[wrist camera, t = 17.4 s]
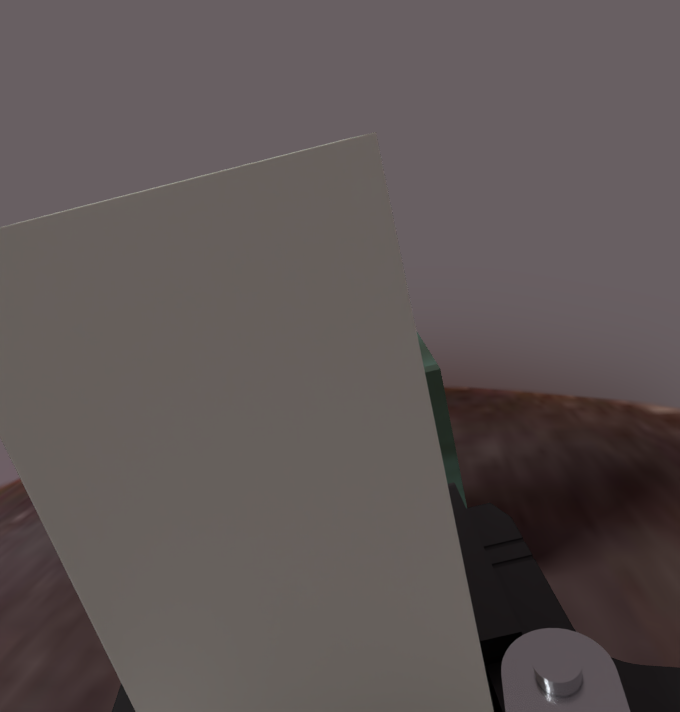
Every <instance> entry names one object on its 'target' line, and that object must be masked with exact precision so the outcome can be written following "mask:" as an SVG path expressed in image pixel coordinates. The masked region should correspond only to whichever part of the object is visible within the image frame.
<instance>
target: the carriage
mask: <svg viewBox="0 0 680 712" xmlns="http://www.w3.org/2000/svg"><path fill="white" fill-rule="evenodd" d="M0 438H1V440H2V442H3V444H4V446H5V448H6V450H7V452H8V454H9V456H10V459H11V461H12V463H13V464H14V466H15V469H16V470H17V473H18V475H19V477H20V479H21V481H22V483H23V485H24V487H25V489H26V491H27V493H28V495H29V497H30V499H31V501H32V503H33V505H34V507H35V509H36V511H37V513H38V515H39V517H40V519H41V521H42V523H43V525H44V527H45V529H46V531H47V533H48V535H49V537H50V540H51V542H52V544H53V546H54V548H55V550H56V552H57V554H58V556H59V558H60V560H61V562H62V564H63V566H64V568H65V570H66V572H67V574H68V576H69V578H70V580H71V582H72V584H73V586H74V588H75V590H76V592H77V594H78V596H79V598H80V600H81V602H82V604H83V606H84V608H85V610H86V612H87V614H88V616H89V618H90V620H91V623H92V625H93V627H94V629H95V631H96V633H97V635H98V637H99V639H100V641H101V643H102V645H103V647H104V649H105V651H106V653H107V655H108V657H109V659H110V661H111V663H112V665H113V667H114V669H115V671H116V673H117V675H118V677H119V679H120V681H121V683H122V685H123V687H124V689H125V691H126V693H127V695H128V697H129V699H130V701H131V703H132V706H133V708H134V710H135V712H494V710H493V705H492V700H491V696H490V691H489V686H488V681H487V676H486V671H485V666H484V661H483V656H482V651H481V646H480V641H479V636H478V632H477V627H476V622H475V617H474V612H473V607H472V602H471V597H470V592H469V587H468V582H467V577H466V572H465V568H464V563H463V558H462V553H461V548H460V543H459V538H458V533H457V528H456V523H455V518H454V513H453V508H452V504H451V499H450V494H449V489H448V484H447V479H446V474H445V469H444V464H443V459H442V454H441V449H440V444H439V440H438V435H437V430H436V425H435V420H434V415H433V410H432V405H431V400H430V395H429V390H428V385H427V380H426V376H425V371H424V366H423V361H422V356H421V351H420V346H419V341H418V336H417V331H416V326H415V322H414V317H413V312H412V307H411V302H410V297H409V292H408V287H407V282H406V277H405V272H404V268H403V262H402V257H401V253H400V248H399V243H398V238H397V233H396V228H395V223H394V218H393V213H392V208H391V203H390V198H389V193H388V189H387V184H386V179H385V174H384V169H383V164H382V159H381V154H380V149H379V144H378V139H377V135H376V132H375V133H370V134H366V135H361V136H358V137H353V138H348V139H344V140H341V141H337V142H332V143H328V144H324V145H321V146H317V147H313V148H309V149H305V150H301V151H297V152H293V153H289V154H285V155H281V156H277V157H273V158H269V159H266V160H262V161H258V162H254V163H250V164H246V165H242V166H238V167H234V168H230V169H226V170H222V171H219V172H214V173H210V174H207V175H203V176H199V177H195V178H191V179H187V180H183V181H179V182H175V183H171V184H168V185H163V186H159V187H155V188H151V189H148V190H144V191H140V192H136V193H132V194H128V195H124V196H120V197H116V198H112V199H109V200H105V201H101V202H97V203H93V204H89V205H85V206H81V207H77V208H73V209H69V210H65V211H61V212H58V213H54V214H50V215H46V216H42V217H38V218H34V219H31V220H27V221H23V222H19V223H15V224H11V225H7V226H3V227H0Z"/></svg>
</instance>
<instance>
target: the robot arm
mask: <svg viewBox="0 0 680 712" xmlns="http://www.w3.org/2000/svg"><path fill="white" fill-rule="evenodd" d="M448 489H449V494H450V499H451V504H452V508H453V513H454V518H455V523H456V528H457V533H458V538H459V543H460V548H461V553H462V558H463V563H464V568H465V572H466V577H467V582H468V587H469V592H470V597H471V602H472V607H473V612H474V617H475V622H476V627H477V632H478V636H479V641H480V646H481V651H482V656H483V661H484V666H485V671H486V676H487V681H488V686H489V691H490V696H491V700H492V705H493V710H494V712H680V668H676V667H661V666H646V665H637V664H631V663H627V662H623V661H620V660H617V659H614V658H611V657H610V656H609V654H608V653H607V652H606V651H605V650H604V649H603V648H602V647H601V646H600V645H599V644H597V643H596V642H595V641H593V640H592V639H590V638H588V637H587V636H585V635H582V634H580V633H578V632H576V631H575V629H574V628H573V626H572V625H571V623H570V621H569V619H568V617H567V616H566V614H565V612H564V610H563V609H562V607H561V605H560V603H559V601H558V600H557V598H556V596H555V594H554V593H553V591H552V589H551V587H550V585H549V584H548V582H547V580H546V578H545V577H544V575H543V573H542V571H541V569H540V568H539V566H538V564H537V562H536V561H535V559H533V556H532V553H531V552H530V550H529V548H528V546H527V544H526V543H525V542H524V541H523V537H522V536H521V534H520V532H519V530H518V528H517V527H516V525H515V523H514V521H513V520H512V518H511V517H510V516H509V515H507V514H506V513H504V512H503V511H501V510H500V509H499V508H497V507H496V506H494V505H493V504H491V503H487V504H483V505H478V506H474V507H470V508H466V507H465V504H464V502H463V500H462V498H461V496H460V493H459V491H458V489H457V487H456V485H455V483H454V482H453V483H449V484H448ZM112 712H135V710H134V708H133V706H132V703H131V701H130V699H129V697H128V695H127V693H126V691H125V689H124V687H123V685H122V683H121V686H120V689H119V692H118V695H117V698H116V701H115V704H114V707H113V710H112Z"/></svg>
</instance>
